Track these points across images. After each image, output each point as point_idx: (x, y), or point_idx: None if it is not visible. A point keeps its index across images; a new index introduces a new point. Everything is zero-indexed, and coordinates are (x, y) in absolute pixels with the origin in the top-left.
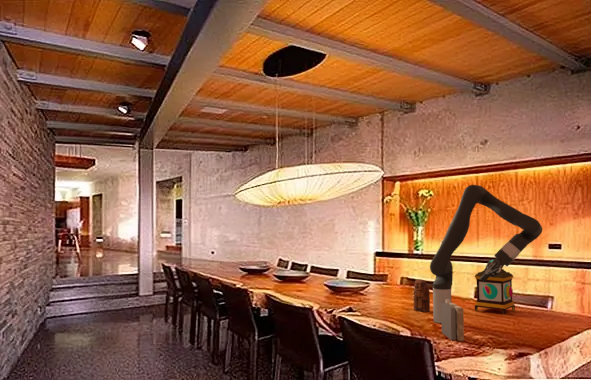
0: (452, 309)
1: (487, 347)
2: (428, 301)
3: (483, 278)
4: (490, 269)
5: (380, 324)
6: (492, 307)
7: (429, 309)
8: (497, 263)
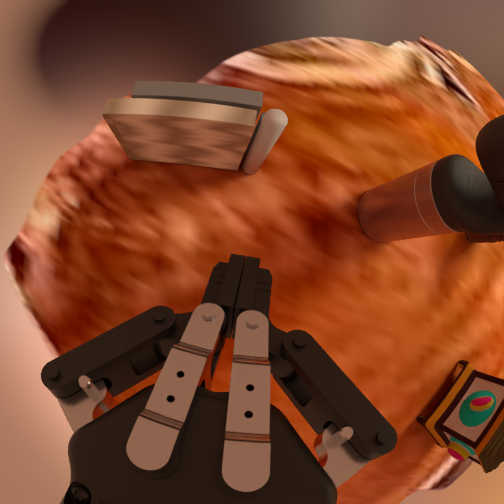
0: (135, 88)
1: (69, 199)
2: (485, 235)
3: (213, 272)
4: (170, 356)
5: (340, 56)
6: (443, 399)
7: (471, 240)
8: (129, 471)
